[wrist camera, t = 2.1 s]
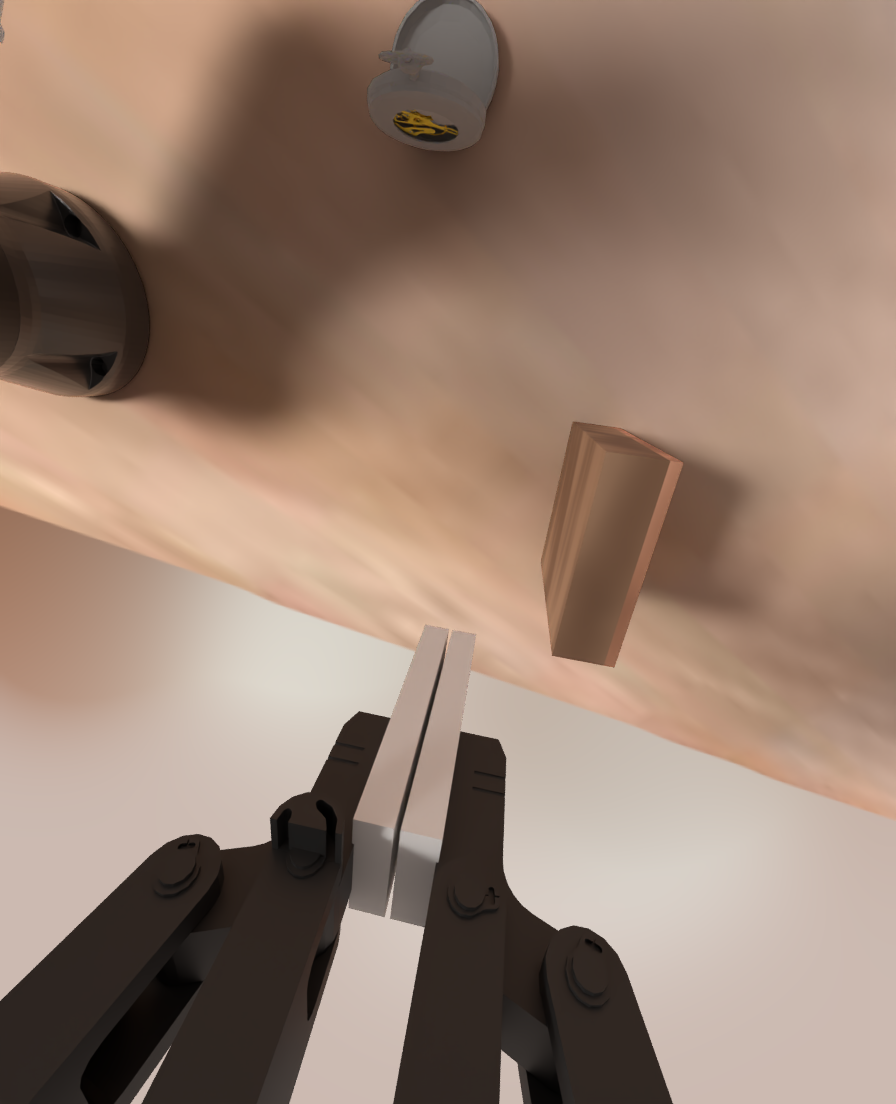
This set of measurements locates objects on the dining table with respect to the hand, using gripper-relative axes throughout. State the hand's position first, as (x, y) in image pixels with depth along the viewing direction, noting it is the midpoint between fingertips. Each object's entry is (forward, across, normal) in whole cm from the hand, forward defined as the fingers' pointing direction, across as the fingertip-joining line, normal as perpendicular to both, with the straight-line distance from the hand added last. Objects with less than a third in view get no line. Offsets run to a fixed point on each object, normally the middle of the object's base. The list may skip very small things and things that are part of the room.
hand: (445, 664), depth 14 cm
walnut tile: (+24, +7, 0) cm, 25 cm away
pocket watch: (+25, -7, +24) cm, 35 cm away
